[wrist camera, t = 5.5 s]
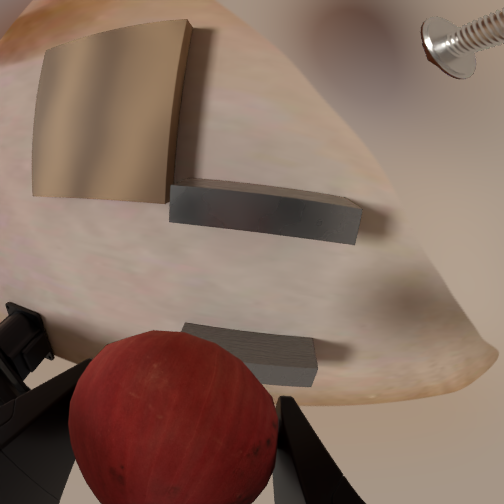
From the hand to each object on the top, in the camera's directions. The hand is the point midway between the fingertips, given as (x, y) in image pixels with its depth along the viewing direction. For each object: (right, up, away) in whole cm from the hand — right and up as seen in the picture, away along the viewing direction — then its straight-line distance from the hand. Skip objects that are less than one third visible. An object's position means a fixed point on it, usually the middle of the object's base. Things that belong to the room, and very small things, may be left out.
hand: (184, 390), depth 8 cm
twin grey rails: (+2, +2, +11) cm, 12 cm away
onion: (0, +1, +2) cm, 2 cm away
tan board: (-8, +14, +8) cm, 18 cm away
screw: (+15, +19, +5) cm, 25 cm away
